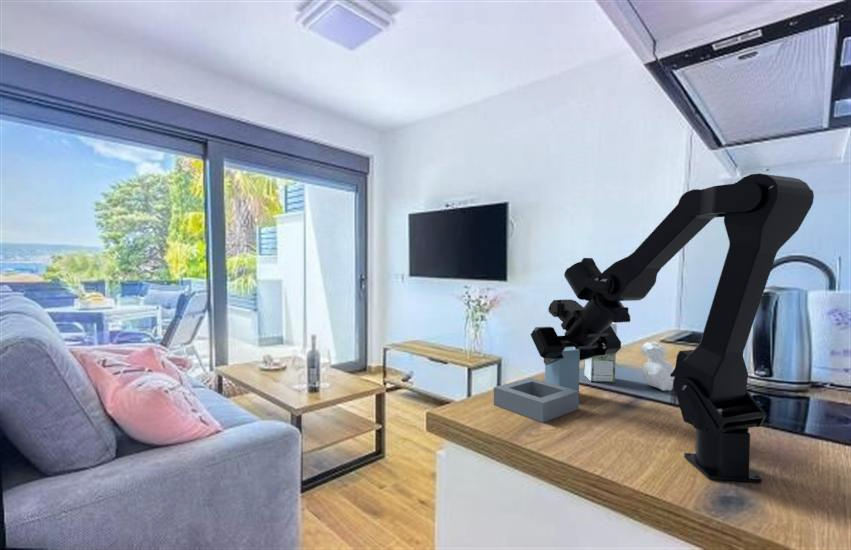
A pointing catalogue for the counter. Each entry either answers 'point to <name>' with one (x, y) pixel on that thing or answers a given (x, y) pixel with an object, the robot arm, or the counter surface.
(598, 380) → the syrup box
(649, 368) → the duck figurine
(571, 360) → the peg block
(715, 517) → the counter surface
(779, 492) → the counter surface
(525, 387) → the box
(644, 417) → the counter surface
